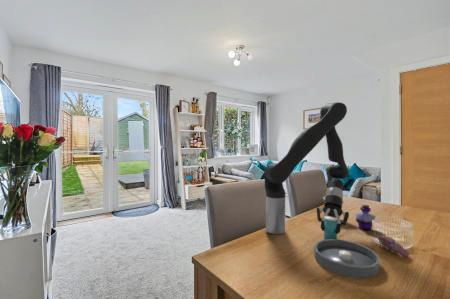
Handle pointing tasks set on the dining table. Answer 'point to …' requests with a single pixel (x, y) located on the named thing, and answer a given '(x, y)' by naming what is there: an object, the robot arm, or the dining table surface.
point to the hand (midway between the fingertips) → (330, 231)
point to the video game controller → (393, 246)
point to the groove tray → (347, 258)
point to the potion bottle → (365, 218)
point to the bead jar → (330, 227)
